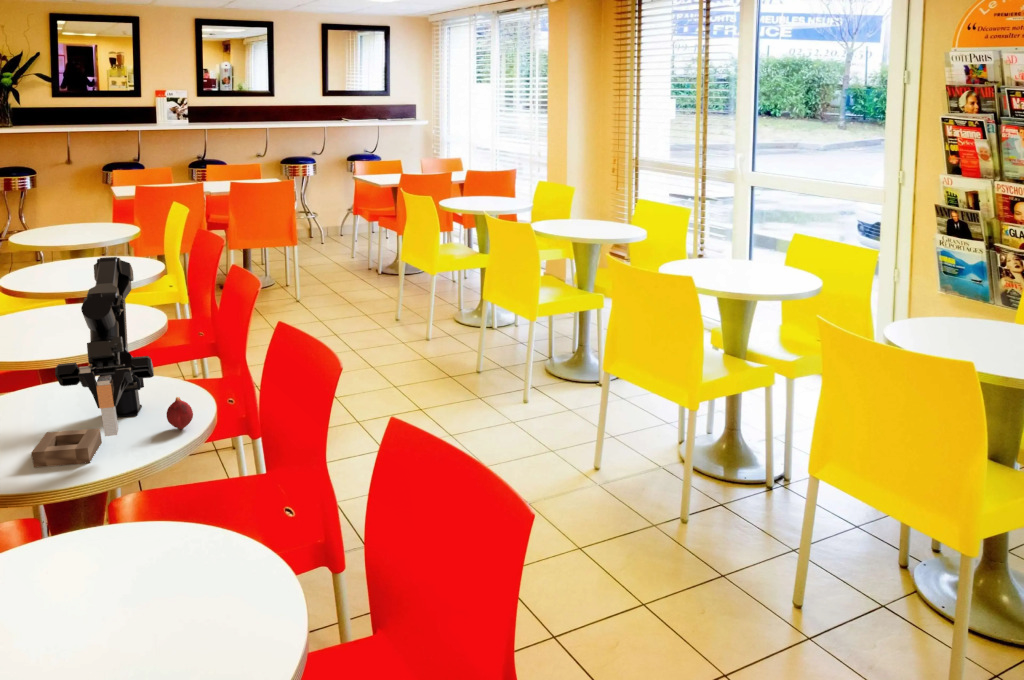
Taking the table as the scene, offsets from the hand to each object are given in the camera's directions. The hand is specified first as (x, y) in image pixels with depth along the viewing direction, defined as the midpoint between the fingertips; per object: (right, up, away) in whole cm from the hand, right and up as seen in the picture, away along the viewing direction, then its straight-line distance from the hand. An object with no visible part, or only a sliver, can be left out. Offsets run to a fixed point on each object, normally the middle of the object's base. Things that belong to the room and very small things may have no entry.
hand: (106, 406), depth 180 cm
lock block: (-11, -11, +6) cm, 17 cm away
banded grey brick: (0, -6, +3) cm, 7 cm away
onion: (+8, -7, +20) cm, 23 cm away
